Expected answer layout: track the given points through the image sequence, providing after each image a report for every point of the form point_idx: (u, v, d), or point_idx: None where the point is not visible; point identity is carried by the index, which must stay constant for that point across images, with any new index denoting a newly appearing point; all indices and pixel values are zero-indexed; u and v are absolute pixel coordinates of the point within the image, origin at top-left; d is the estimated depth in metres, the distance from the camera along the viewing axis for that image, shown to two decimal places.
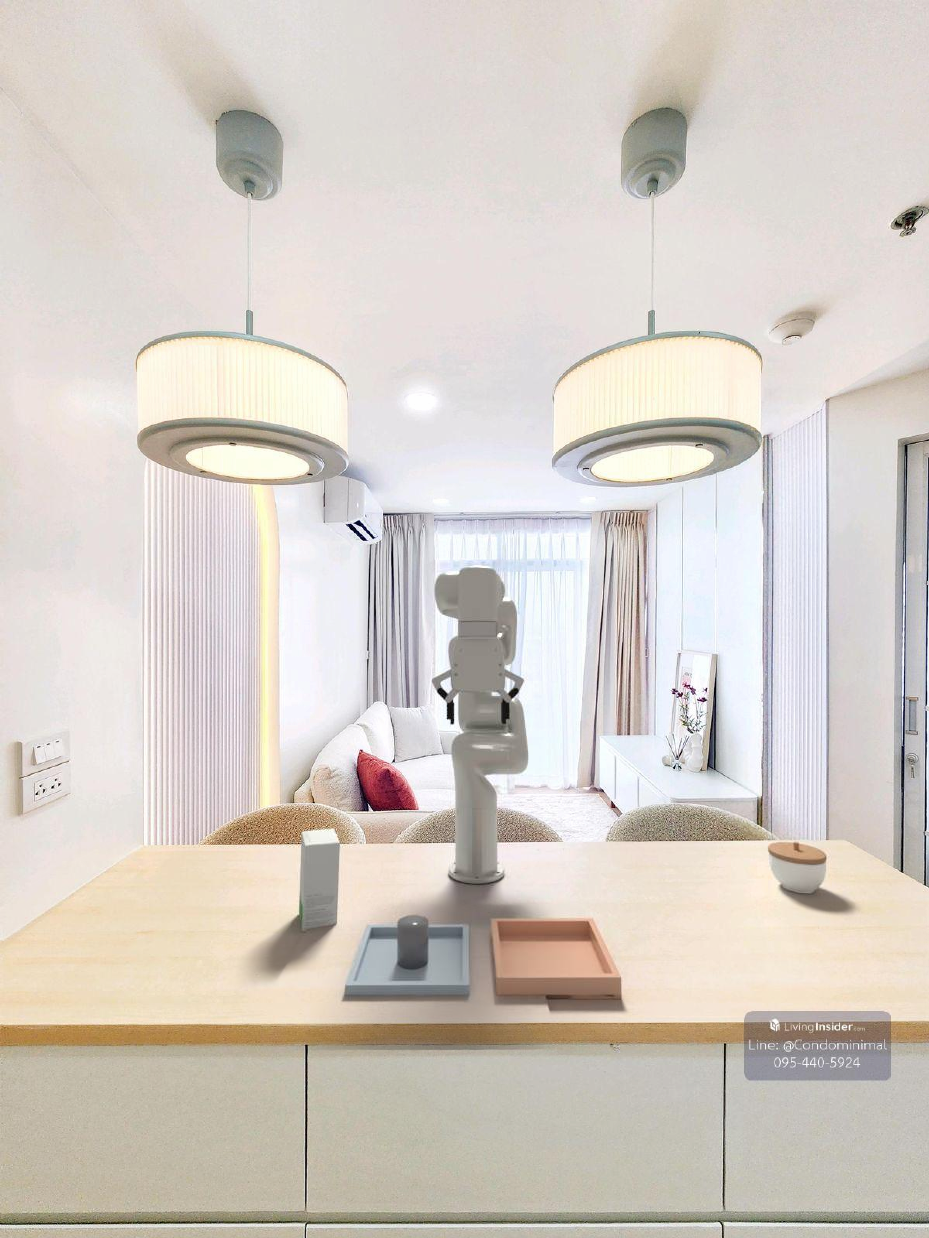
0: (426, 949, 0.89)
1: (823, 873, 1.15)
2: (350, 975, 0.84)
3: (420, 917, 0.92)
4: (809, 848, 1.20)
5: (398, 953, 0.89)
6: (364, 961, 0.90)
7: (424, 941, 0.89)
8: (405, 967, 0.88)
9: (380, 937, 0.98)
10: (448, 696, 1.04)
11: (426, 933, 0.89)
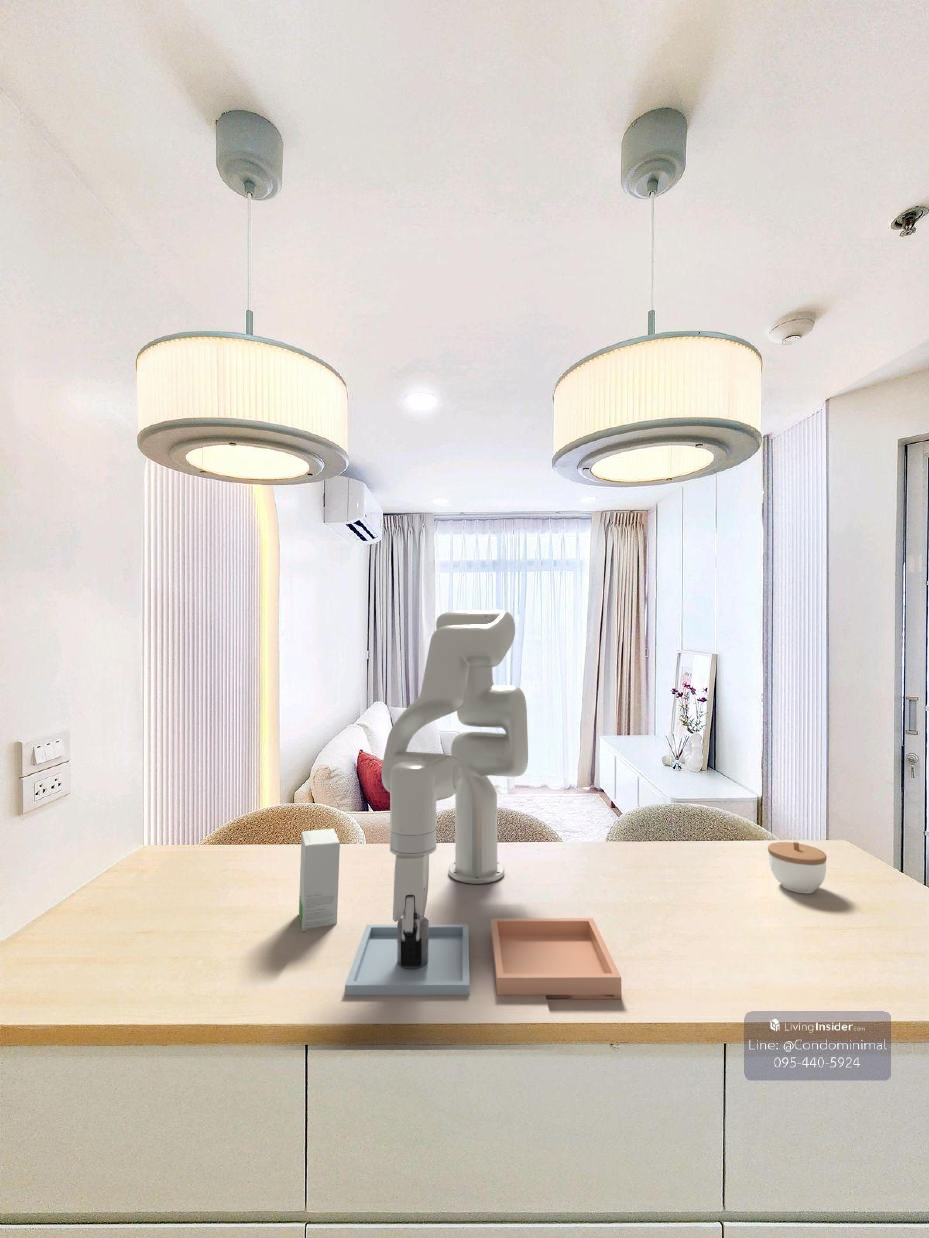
0: (426, 949, 0.89)
1: (823, 873, 1.15)
2: (350, 975, 0.84)
3: None
4: (809, 848, 1.20)
5: (398, 953, 0.89)
6: (364, 961, 0.90)
7: (424, 941, 0.89)
8: (405, 967, 0.88)
9: (380, 937, 0.98)
10: None
11: (426, 933, 0.89)
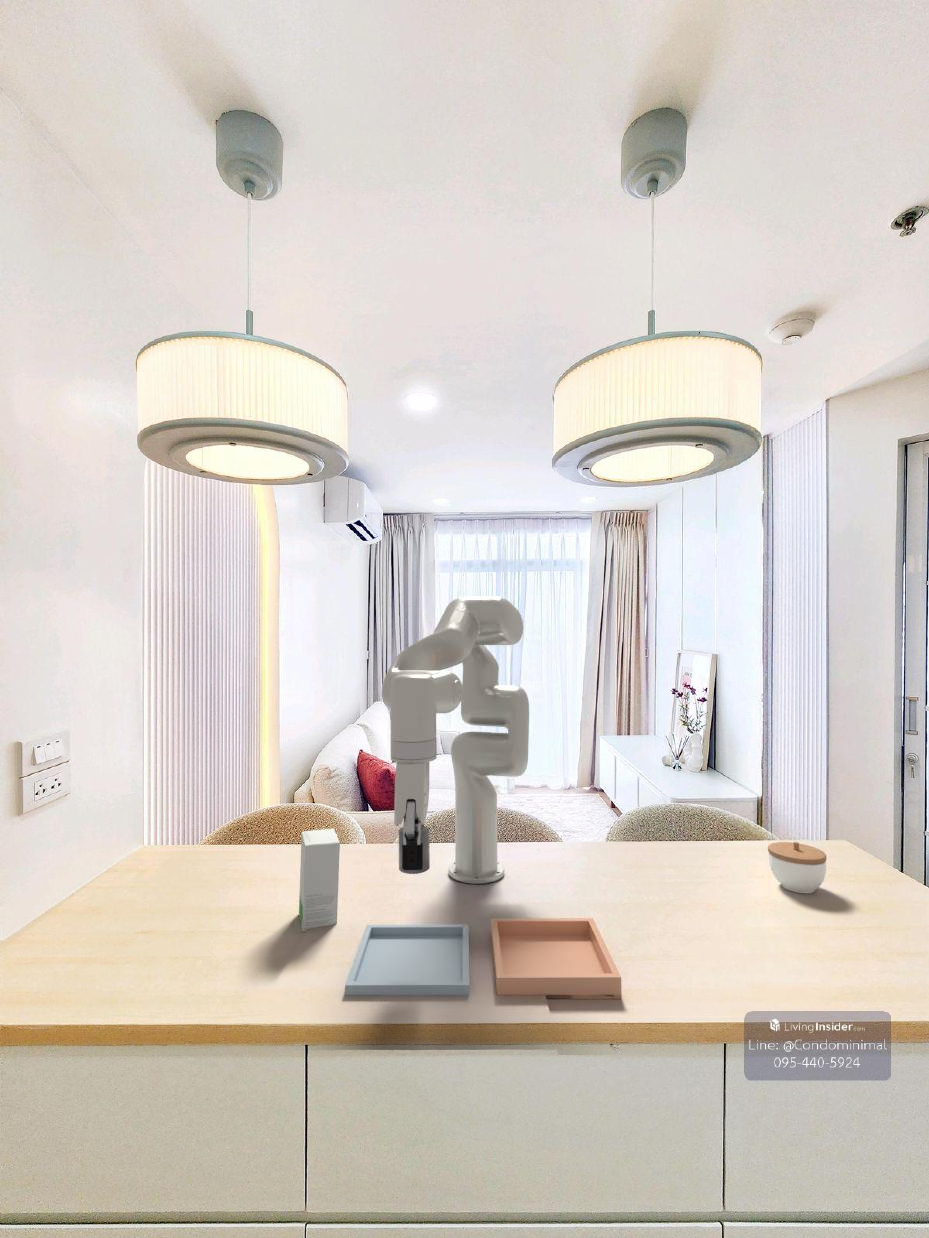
0: (427, 855, 0.91)
1: (823, 873, 1.15)
2: (350, 975, 0.84)
3: (421, 826, 0.93)
4: (809, 848, 1.20)
5: (399, 859, 0.90)
6: (364, 961, 0.90)
7: (425, 847, 0.90)
8: (406, 872, 0.89)
9: (380, 937, 0.98)
10: None
11: (427, 840, 0.91)
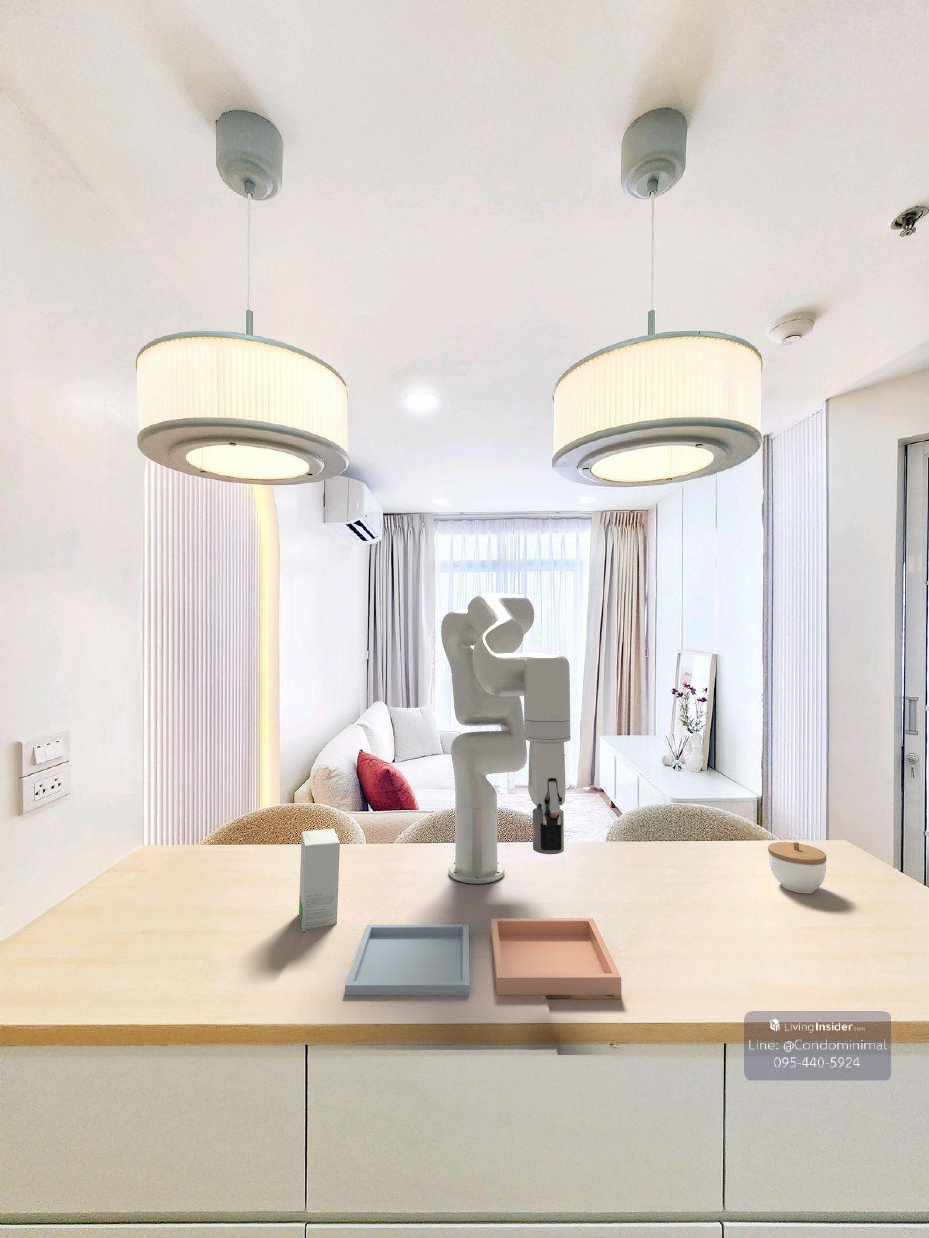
0: (563, 836, 0.90)
1: (823, 873, 1.15)
2: (350, 975, 0.84)
3: None
4: (809, 848, 1.20)
5: (535, 840, 0.90)
6: (364, 961, 0.90)
7: (561, 827, 0.90)
8: (544, 852, 0.89)
9: (380, 937, 0.98)
10: None
11: (563, 820, 0.90)
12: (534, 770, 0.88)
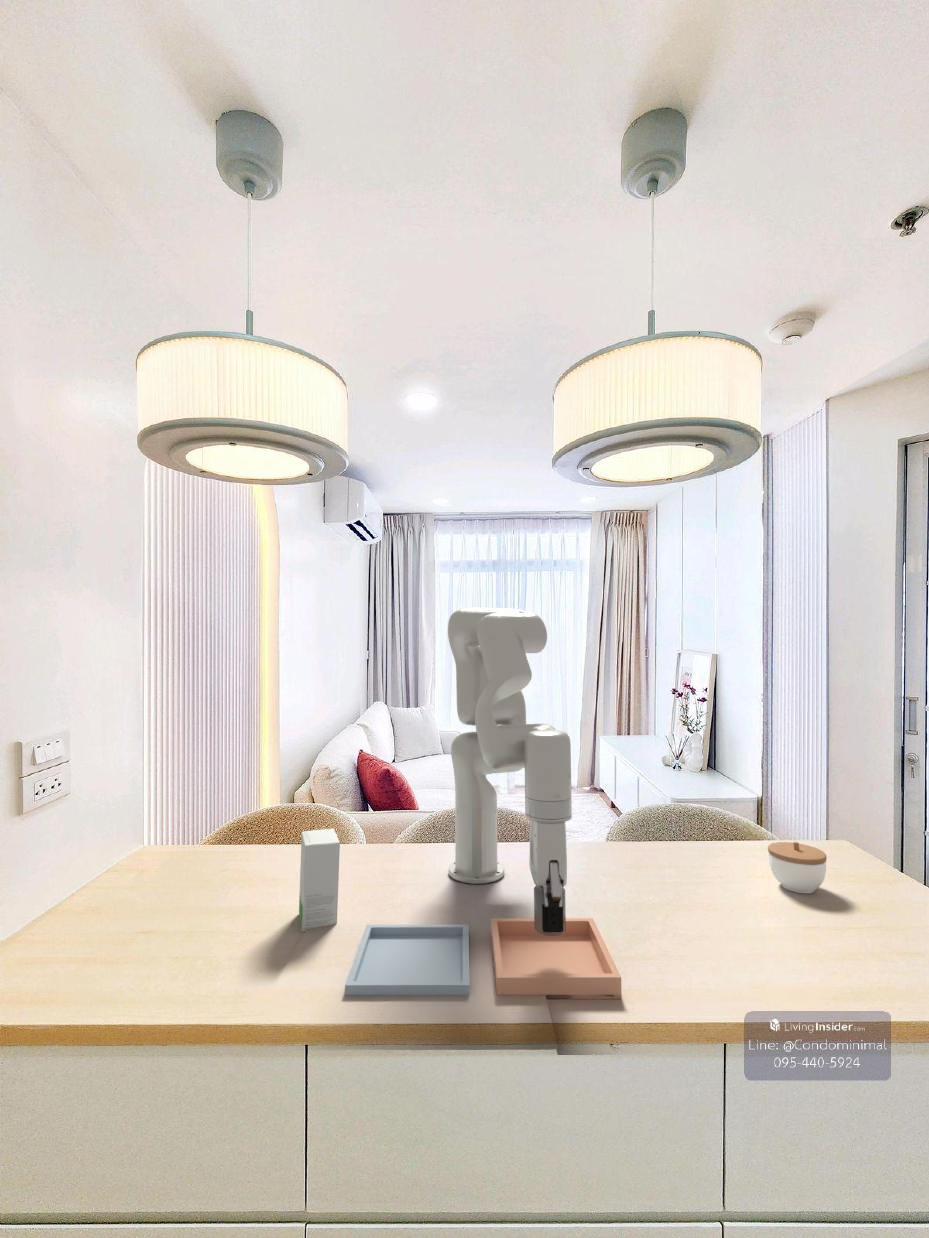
0: (565, 916, 0.89)
1: (823, 873, 1.15)
2: (350, 975, 0.84)
3: None
4: (809, 848, 1.20)
5: (537, 920, 0.89)
6: (364, 961, 0.90)
7: (563, 907, 0.89)
8: (546, 933, 0.88)
9: (380, 937, 0.98)
10: None
11: (564, 900, 0.90)
12: (535, 851, 0.87)
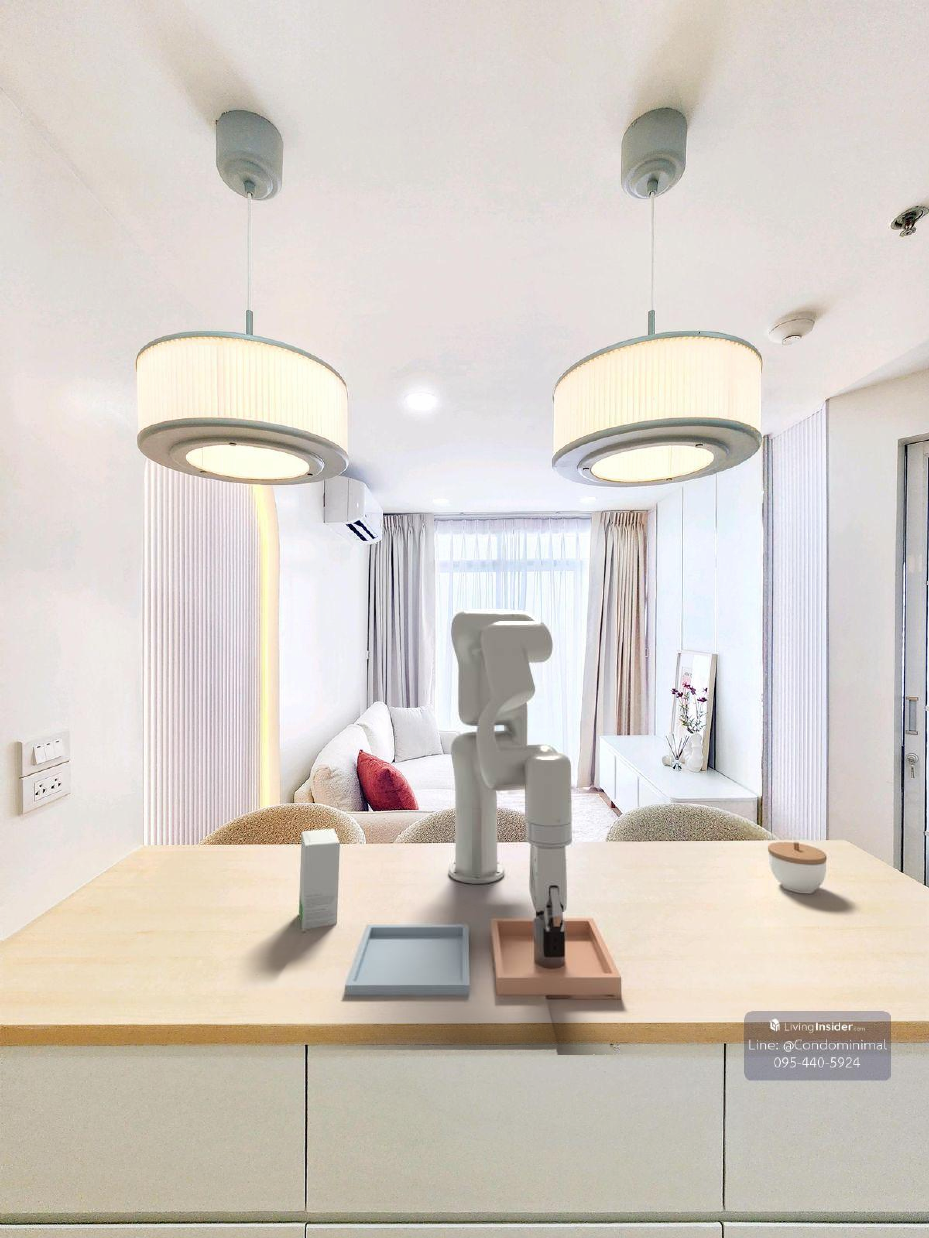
0: None
1: (823, 873, 1.15)
2: (350, 975, 0.84)
3: None
4: (809, 848, 1.20)
5: (536, 952, 0.89)
6: (364, 961, 0.90)
7: None
8: (545, 966, 0.88)
9: (380, 937, 0.98)
10: None
11: None
12: (535, 875, 0.87)
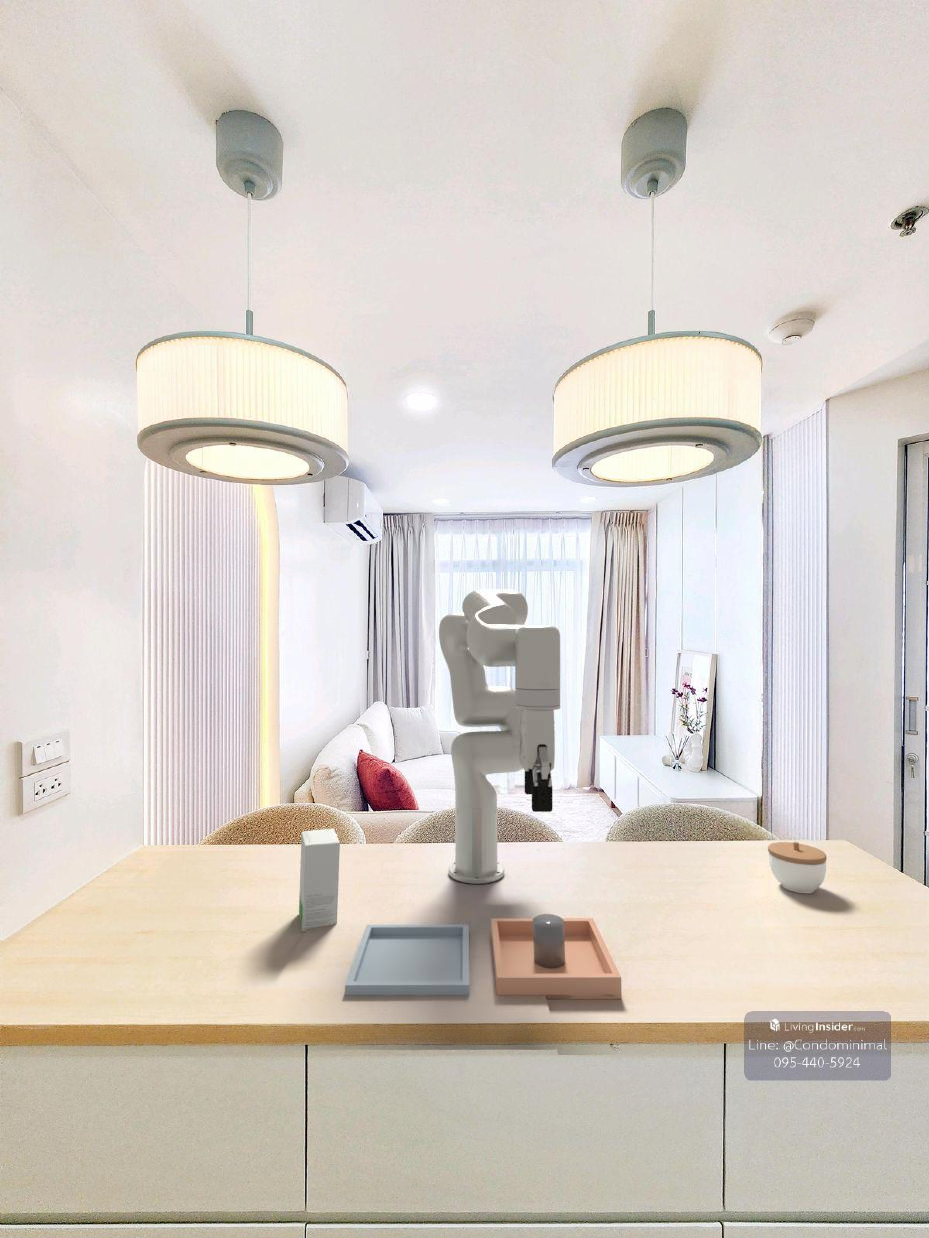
0: (563, 948, 0.89)
1: (823, 873, 1.15)
2: (350, 975, 0.84)
3: (553, 916, 0.92)
4: (809, 848, 1.20)
5: (536, 952, 0.89)
6: (364, 961, 0.90)
7: (562, 939, 0.89)
8: (545, 966, 0.88)
9: (380, 937, 0.98)
10: None
11: (563, 932, 0.89)
12: (524, 737, 0.90)
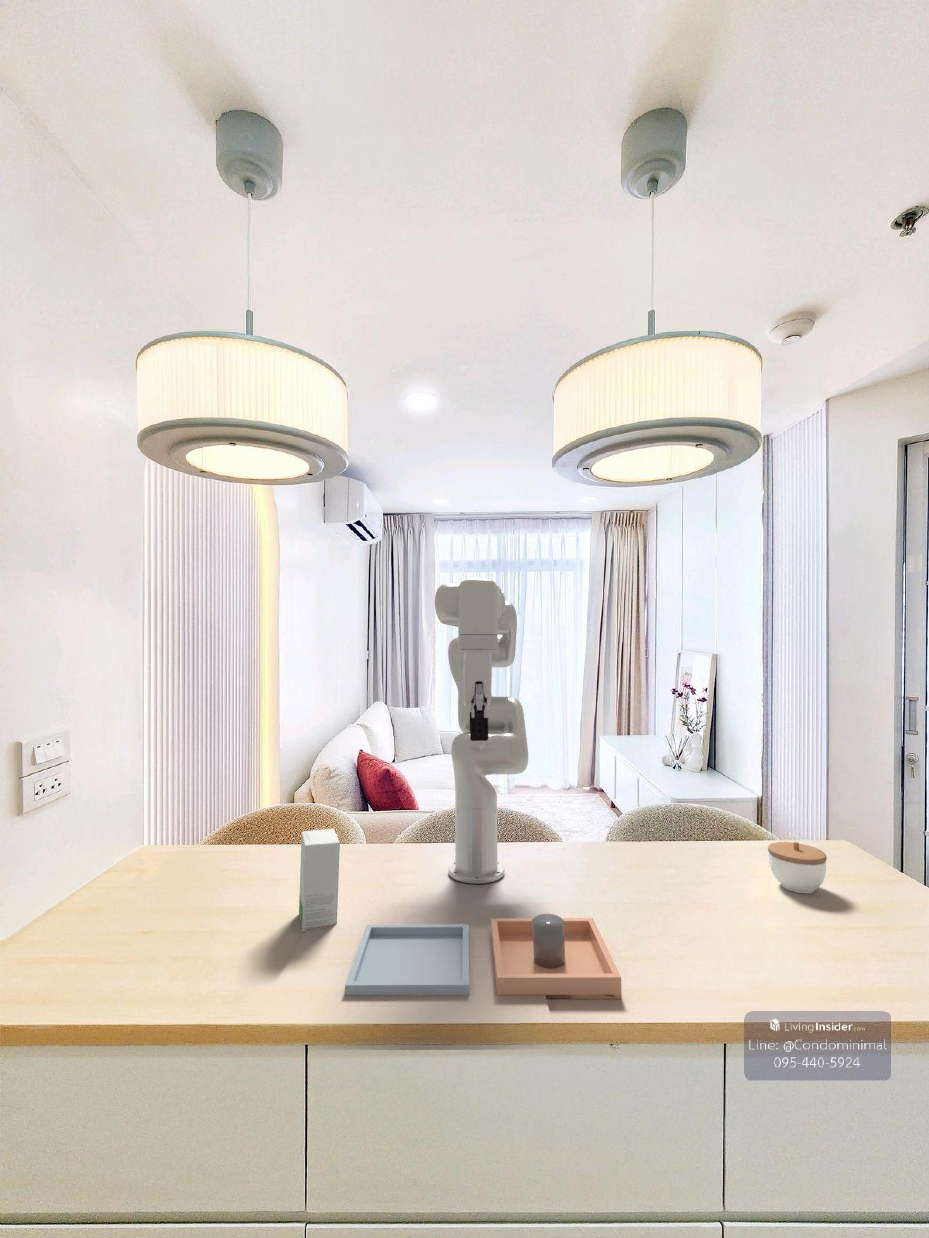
0: (563, 948, 0.89)
1: (823, 873, 1.15)
2: (350, 975, 0.84)
3: (554, 916, 0.92)
4: (809, 848, 1.20)
5: (535, 951, 0.90)
6: (364, 961, 0.90)
7: (561, 940, 0.89)
8: (543, 966, 0.88)
9: (380, 937, 0.98)
10: (486, 711, 1.00)
11: (562, 932, 0.89)
12: (464, 676, 1.02)
